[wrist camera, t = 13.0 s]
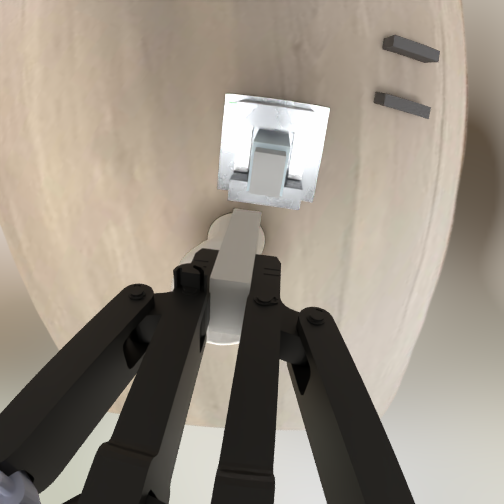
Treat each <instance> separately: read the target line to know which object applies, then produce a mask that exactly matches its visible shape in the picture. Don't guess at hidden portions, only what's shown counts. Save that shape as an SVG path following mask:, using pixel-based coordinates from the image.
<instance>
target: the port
mask: <svg viewBox="0 0 504 504" xmlns="http://www.w3.org/2000/svg"><path fill="white" fill-rule="evenodd" d="M329 111H330V108H328V107H323V106H317V105H312V104H306V103H300V102H294V101H287V100H280V99H273V98H265V97H257V96H248V95H238V94H227V93H226V97H225V107H224V117H223V127H222V138H221V149H220V161H219V173H218V185H217V189H222V190H229V191H228V200H231V201H238V202H246V203H253V204H260V205H267V206H274V207H281V208H288V209H294V210H299V208H300V203H301V201H307V202H313V198H314V193H315V188H316V183H317V177H318V172H319V167H320V162H321V156H322V151H323V145H324V140H325V134H326V128H327V122H328V117H329ZM259 129H263V130H269V131H276V132H282V133H288V134H289V138H290V146H291V148H290V154H289V160H288V165H287V171H286V177H285V182H284V188H283V194H282V196H279V198H274V197H268V196H262V195H255V194H249V191H247V184H248V176H249V169H250V161H251V154H252V147H253V141H254V139H255V136H256V134H257V132H258V130H259Z"/></svg>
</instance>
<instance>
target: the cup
mask: <svg viewBox="0 0 504 504" xmlns="http://www.w3.org/2000/svg"><path fill="white" fill-rule="evenodd" d="M231 216H232V213H231V214H226V215H223V216H221V217H219V218H218V219H216V220H215V221H214V223H213V224H212V225H211V227H210V229H209V232H208V238H207V240H205V241H203V242H202V243H200V244H199V245H198V246H196V247H195V248H193V249H192V250H190V251H189V252H188V253H187V254H186V255H185V256H184V257H183V259H182V260H181V261H180V263H179V265H181V264H186V263H191V262H192V260H193V257H194V255H195V253H196V252H198V251H199V250H200V249H202V248H206V249H214V250H220V247H221V244H222V241H223V238H224V236H225V233H226V230H227V227H228V224H229V221H230V219H231ZM264 244H265V236H264V232H263V230H262V228H261V226H260V230H259V239H258V247H257V254H258V255H261V254H262V251H263V249H264ZM179 265H178V266H179ZM173 289H174V276H173V279H172V284H171V291H173ZM240 336H241V335H234V334H227V333H220V332H214V331H209V325H208V328H207V340H206V342H207V343H211V344H216V345H233V344H238V343H239V342H240Z"/></svg>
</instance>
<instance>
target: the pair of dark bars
mask: <svg viewBox="0 0 504 504" xmlns="http://www.w3.org/2000/svg"><path fill="white" fill-rule="evenodd" d="M383 49H384V50H387V51H391V52H394V53H397V54H400V55H403V56H407V57H410V58H412V59H415V60H418V61H421V62H424V63H428V62H438V61H439V54H440V51H438V50H436V49H433V48H431V47H428V46H425V45H423V44H420V43H417V42H414V41H412V40H409V39H406V38H403V37H400V36H397V35H393V36H390V37H387V38H384V41H383ZM374 103H376V104H379V105H383V106H386V107H390V108H394V109H397V110H401V111H404V112H408V113H411V114H414V115H417V116H421V117H424V118H427V119H429V114H430V109H431V107H428V106H425V105H422V104H419V103H416V102H412V101H409V100H406V99H403V98H399V97H396V96H392V95H389V94H385V93H379V92H376V94H375V100H374Z"/></svg>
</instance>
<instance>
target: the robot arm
mask: <svg viewBox="0 0 504 504" xmlns="http://www.w3.org/2000/svg"><path fill="white" fill-rule="evenodd" d="M261 214H262V212H260V211H252V210H244V209H235V208H234V210H233V213H232V216H231V219H230V221H229V224H228V227H227V230H226V233H225V236H224V238H223V241H222V244H221V247H220V250H214V249H206V248H202V249H200V250H199V251H198V252H196V253H195V255H194V257H193V260H192V262H191V263H186V264H181V265H179V266H177V267H176V268H175V269H174V270H173V274H174V289H173V291H171V292H167V293H155V294H154V292H153V290H152V288H151V287H149V286H148V285H145V284H133V285H129V286H127V287H126V288H124V289H123V290H122V291H121V292H120V293H119V294H118V295H117V296H116V297H114V298H113V299H112V300H111V301H110V302H109V303H108V304H107V305H106V306H105V307H104V308H103V309H102V310H101V311H100V312H99V313H98V314H97V315H95V316H94V317H93V318H92V319H91V320H90V321H89V322H88V323H87V324H86V325H85V326H84V327H83V328H82V329H81V330H80V331H79V332H78V333H77V334H76V335H75V336H74V337H73V338H72V339H71V340H70V341H69V342H68V343H67V344H66V345H65V346H64V347H63V348H62V349H61V350H60V351H59V352H58V353H57V354H56V355H55V356H54V357H53V358H52V359H51V360H50V361H49V362H48V363H47V364H46V365H45V366H44V367H43V368H42V369H41V370H40V371H39V372H38V374H37V375H36V376H35V377H34V378H33V379H32V380H31V381H30V382H29V383H28V384H27V385H26V386H25V388H23V389H22V390H21V392H20V393H19V394H18V395H17V396H16V397H15V398H14V399H13V400H12V401H11V402H10V404H9V405H8V406H7V407H6V408H5V409H4V410H3V411H2V412H1V414H0V504H41V503H40V499H39V493H41V492H42V491H44V490H45V489H46V488H47V487H48V486H49V485H51V484H52V482H54V481H55V479H56V478H57V477H58V476H59V474H60V473H61V472H62V471H63V470H64V468H65V467H66V466H67V464H68V463H69V461H70V460H71V459H72V457H73V456H74V455H75V453H76V452H77V451H78V449H79V448H80V447H81V445H82V444H83V443H84V442H85V440H86V439H87V437H88V436H89V435H90V434H91V432H92V431H93V430H94V428H95V427H96V426H97V424H98V423H99V422H100V420H101V419H102V418H103V416H104V415H105V414H106V412H107V411H108V410H109V409H110V407H111V406H112V405H113V403H114V402H115V401H116V399H117V398H118V397H119V395H120V394H121V393H122V392H123V390H124V389H125V388H126V386H127V385H128V384H129V382H130V381H131V380H132V379H133V377H134V376H135V375H136V376H135V379H134V381H133V383H132V386H131V388H130V391H129V393H128V396H127V398H126V401H125V403H124V406H123V408H122V411H121V413H120V416H119V419H118V421H117V424H116V426H115V429H114V432H113V434H112V437H111V439H110V440H109V441H108V442H105V443H103V444H102V445H101V446H100V447H99V448H98V451H97V453H96V455H95V457H94V460H93V463H92V465H91V468H90V471H89V474H88V476H87V479H86V482H85V485H84V488H83V490H82V493H81V494H79V495H77V496H75V497H73V498H72V499H70V500H68V501H66V502H64V503H63V504H169V498H170V483H171V478H172V474H173V470H174V465H175V462H176V458H177V454H178V449H179V445H180V441H181V437H182V433H183V429H184V425H185V421H186V417H187V413H188V410H189V406H190V402H191V398H192V394H193V390H194V386H195V382H196V378H197V375H198V371H199V367H200V363H201V359H202V355H203V352H204V348H205V344H206V340H207V328H208V325H209V331H214V332H220V333H227V334H234V335H241V336H240V342H239V348H238V354H237V360H236V366H235V372H234V378H233V384H232V389H231V395H230V401H229V407H228V413H227V419H226V425H225V430H224V437H223V443H222V448H221V454H220V460H219V465H218V469H217V473H216V477H215V483H214V488H213V494H212V500H211V504H274V493H275V477H274V475H273V462H274V448H275V432H276V416H277V397H278V378H279V359H281V360H284V361H286V362H287V367H288V370H289V374H290V377H291V380H292V384H293V387H294V391H295V394H296V398H297V401H298V405H299V408H300V411H301V415H302V418H303V422H304V425H305V429H306V432H307V435H308V439H309V442H310V446H311V449H312V453H313V456H314V460H315V463H316V466H317V470H318V473H319V477H320V481H321V484H322V487H323V491H324V494H325V498H326V501H327V504H415V503H414V500H413V497H412V495H411V492H410V490H409V488H408V485H407V482H406V480H405V477H404V475H403V472H402V470H401V468H400V465H399V463H398V461H397V458H396V456H395V453H394V451H393V449H392V446H391V444H390V441H389V439H388V437H387V435H386V432H385V430H384V428H383V425H382V423H381V421H380V418H379V416H378V414H377V412H376V409H375V407H374V405H373V403H372V400H371V398H370V396H369V394H368V392H367V389H366V387H365V385H364V383H363V381H362V378H361V376H360V374H359V372H358V370H357V368H356V365H355V363H354V361H353V359H352V357H351V355H350V353H349V350H348V348H347V346H346V344H345V342H344V340H343V338H342V336H341V334H340V332H339V329H338V327H337V325H336V323H335V321H334V319H333V317H332V316H331V315H330V313H329V312H327V311H326V310H324V309H321V308H318V307H308V308H305V309H303V310H301V312H297V311H294V310H292V309H290V308H288V307H286V306H285V305H284V304H283V303H282V301H281V299H280V276H281V263H280V261H279V260H278V258H277V257H274V256H266V255H258V254H257V247H258V239H259V230H260V222H261ZM136 373H137V374H136Z"/></svg>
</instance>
